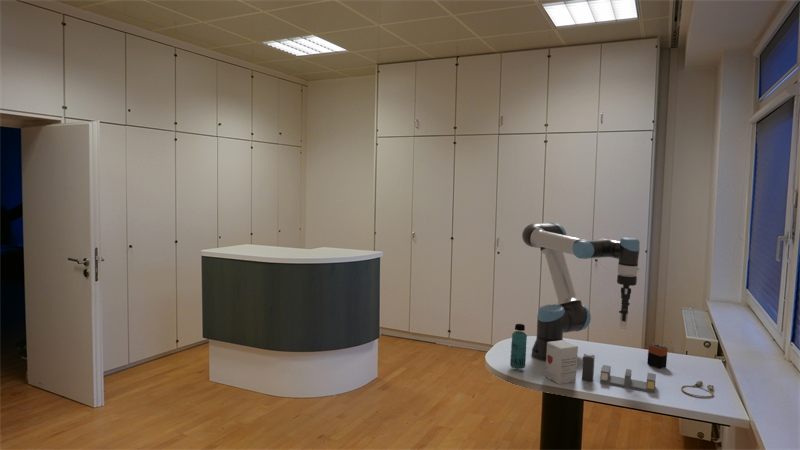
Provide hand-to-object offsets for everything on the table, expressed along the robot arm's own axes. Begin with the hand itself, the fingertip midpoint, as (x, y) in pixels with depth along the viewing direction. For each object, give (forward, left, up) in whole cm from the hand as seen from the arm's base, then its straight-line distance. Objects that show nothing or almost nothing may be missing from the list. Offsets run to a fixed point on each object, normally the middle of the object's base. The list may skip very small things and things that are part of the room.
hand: (623, 324), depth 223 cm
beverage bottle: (-39, -18, -22) cm, 48 cm away
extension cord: (+30, -3, -22) cm, 37 cm away
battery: (+14, +20, -22) cm, 33 cm away
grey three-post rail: (+4, -11, -22) cm, 24 cm away
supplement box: (-21, -19, -22) cm, 36 cm away
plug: (-11, -14, -22) cm, 28 cm away
